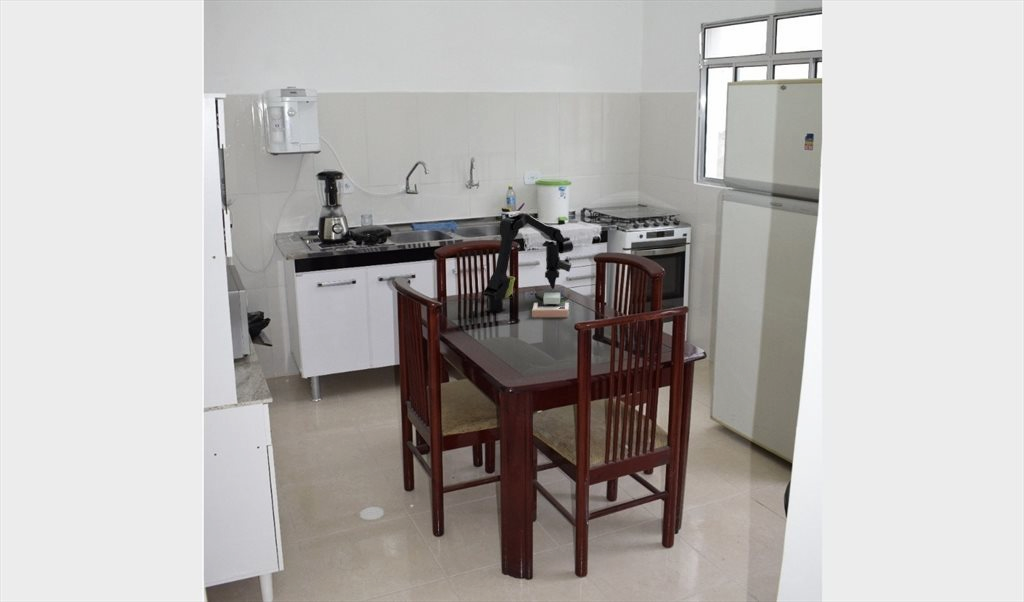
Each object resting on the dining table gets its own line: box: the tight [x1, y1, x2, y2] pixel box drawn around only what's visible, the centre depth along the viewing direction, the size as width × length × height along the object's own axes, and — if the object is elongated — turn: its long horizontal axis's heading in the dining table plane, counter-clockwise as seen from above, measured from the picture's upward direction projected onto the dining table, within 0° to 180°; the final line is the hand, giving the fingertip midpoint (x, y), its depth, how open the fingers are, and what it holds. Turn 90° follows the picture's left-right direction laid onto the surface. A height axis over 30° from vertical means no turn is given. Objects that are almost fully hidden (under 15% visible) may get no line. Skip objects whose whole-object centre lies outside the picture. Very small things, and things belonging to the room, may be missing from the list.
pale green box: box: [543, 288, 561, 307], centre depth 347 cm, size 10×7×5 cm
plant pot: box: [504, 275, 516, 299], centre depth 360 cm, size 9×9×9 cm
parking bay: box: [531, 302, 570, 318], centre depth 334 cm, size 16×15×3 cm
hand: (552, 288), depth 358 cm, fingers closed
